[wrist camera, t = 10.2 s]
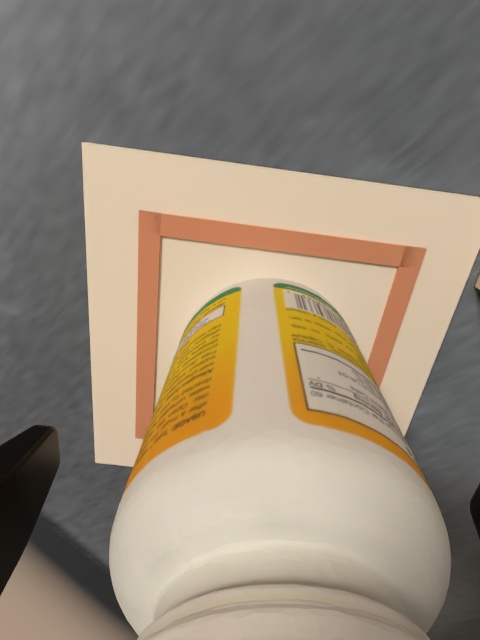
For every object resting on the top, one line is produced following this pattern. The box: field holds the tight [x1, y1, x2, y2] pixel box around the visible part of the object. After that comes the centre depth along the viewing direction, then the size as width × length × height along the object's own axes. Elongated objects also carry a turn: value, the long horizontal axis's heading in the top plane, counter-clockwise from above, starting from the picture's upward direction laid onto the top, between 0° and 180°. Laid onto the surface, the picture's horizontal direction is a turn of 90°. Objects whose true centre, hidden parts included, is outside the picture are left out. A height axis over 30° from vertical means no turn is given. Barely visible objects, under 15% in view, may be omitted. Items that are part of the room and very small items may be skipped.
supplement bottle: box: [109, 278, 451, 640], centre depth 8 cm, size 5×5×10 cm
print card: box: [82, 142, 480, 467], centre depth 12 cm, size 11×11×1 cm
